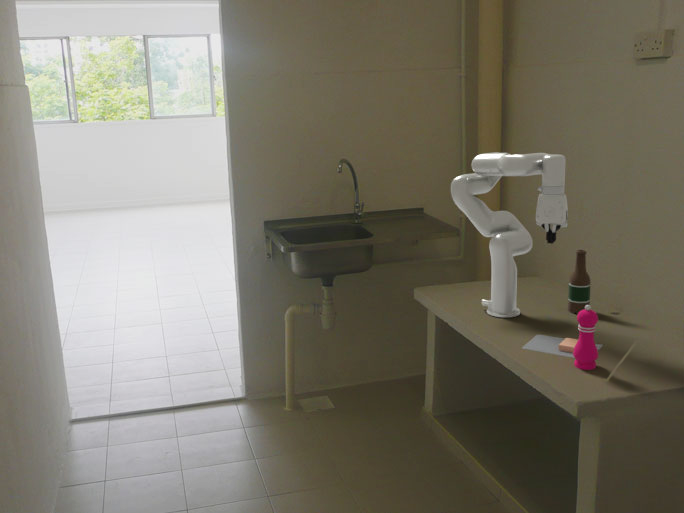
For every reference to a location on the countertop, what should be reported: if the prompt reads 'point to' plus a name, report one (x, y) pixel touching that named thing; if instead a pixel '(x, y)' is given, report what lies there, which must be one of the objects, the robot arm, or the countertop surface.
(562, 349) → the tile
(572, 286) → the beer bottle
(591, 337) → the pepper mill
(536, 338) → the mat
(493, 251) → the robot arm
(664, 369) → the countertop surface
